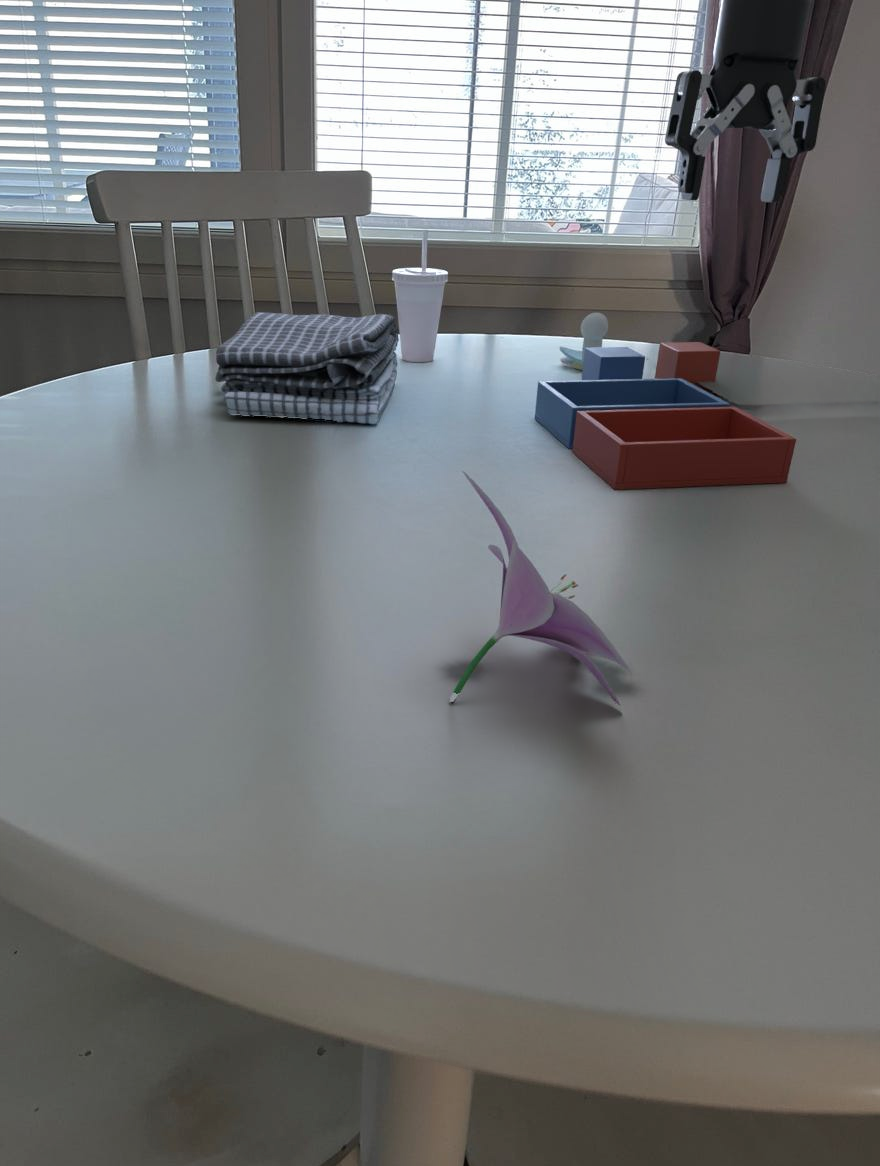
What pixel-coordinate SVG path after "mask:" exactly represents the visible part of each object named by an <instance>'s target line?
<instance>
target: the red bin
mask: <svg viewBox="0 0 880 1166" xmlns="http://www.w3.org/2000/svg"><path fill="white" fill-rule="evenodd" d="M796 443H797V438H795V437H794V436H792V435H790V434H788V433H786V432H784V431H782V430H781V429H778V428H776V427H775V426H773V425H771V424H769V423H768V422H765V421H763V420H762V419H759V418H758V417H755V415H752V414H750V413H748V412H746V411H744V410H742V409H740V408H739V407H737V406H730V407H704V408H666V409H629V410H592V411H577V415H576V424H575V433H574V442H573V449H571V452H572V453H573V454H574V455H575V456H576V457H577V458H578V459H579V460H580V461H582V462H583V463H584V464H585V465H586V466H587V467H589V468H590V469H591V470H592V471H593V472H594V473H595V474H596V475H598V476H599V477H600V478H601V479H602V480H603V481H604V482H605V483H607V484H608V485H609V486H610V487H611V488H612V489H613V490H614V491H617V490H618V491H619V490H645V489H665V488H666V489H667V488H668V489H669V488H687V487H688V488H689V487H690V488H692V487H713V486H736V485H737V486H739V485H761V484H765V485H766V484H785V483H787V482H788V479H789V475H790V469H791V465H792V462H793V461H792V460H793V456H794V452H795V447H796Z"/></svg>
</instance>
